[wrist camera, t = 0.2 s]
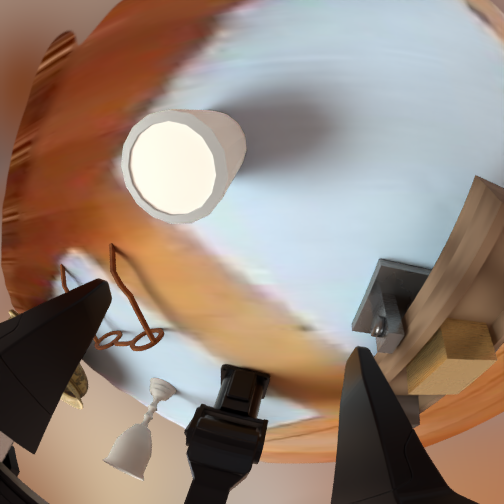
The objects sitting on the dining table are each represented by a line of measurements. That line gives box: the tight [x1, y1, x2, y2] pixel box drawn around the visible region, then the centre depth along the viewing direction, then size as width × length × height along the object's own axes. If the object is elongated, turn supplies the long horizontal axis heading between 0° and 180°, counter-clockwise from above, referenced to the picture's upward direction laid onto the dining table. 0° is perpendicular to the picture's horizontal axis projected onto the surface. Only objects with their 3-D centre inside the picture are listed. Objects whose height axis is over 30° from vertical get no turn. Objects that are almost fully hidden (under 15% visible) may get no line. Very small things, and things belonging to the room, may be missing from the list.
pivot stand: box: [352, 259, 499, 354], centre depth 21 cm, size 8×16×6 cm, turn 85°
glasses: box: [60, 243, 164, 351], centre depth 31 cm, size 13×13×5 cm
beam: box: [374, 175, 504, 428], centre depth 19 cm, size 28×10×6 cm, turn 175°
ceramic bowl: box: [8, 310, 88, 409], centre depth 42 cm, size 30×24×10 cm
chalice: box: [103, 378, 176, 481], centre depth 36 cm, size 7×7×18 cm
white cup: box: [121, 109, 247, 224], centre depth 17 cm, size 7×7×7 cm
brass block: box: [406, 318, 497, 395], centre depth 18 cm, size 6×6×4 cm
